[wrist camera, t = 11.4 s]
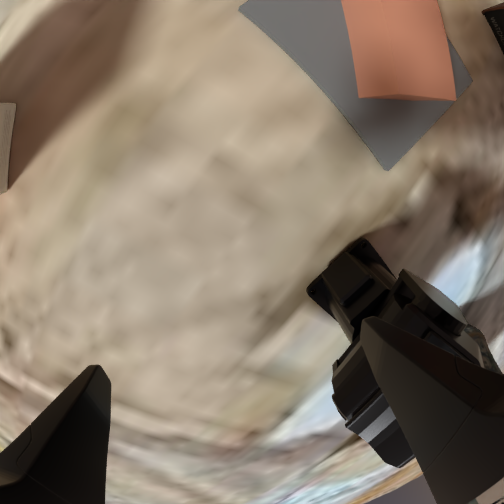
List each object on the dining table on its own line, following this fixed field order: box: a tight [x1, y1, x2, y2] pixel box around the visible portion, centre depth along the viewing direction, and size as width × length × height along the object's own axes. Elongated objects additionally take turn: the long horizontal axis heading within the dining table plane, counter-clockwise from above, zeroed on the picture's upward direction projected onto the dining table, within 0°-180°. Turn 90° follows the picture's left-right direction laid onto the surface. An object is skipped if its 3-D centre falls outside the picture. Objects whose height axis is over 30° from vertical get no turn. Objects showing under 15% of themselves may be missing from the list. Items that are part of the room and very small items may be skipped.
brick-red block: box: [341, 0, 456, 101], centre depth 13 cm, size 5×5×10 cm
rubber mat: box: [238, 0, 473, 171], centre depth 16 cm, size 16×14×1 cm
